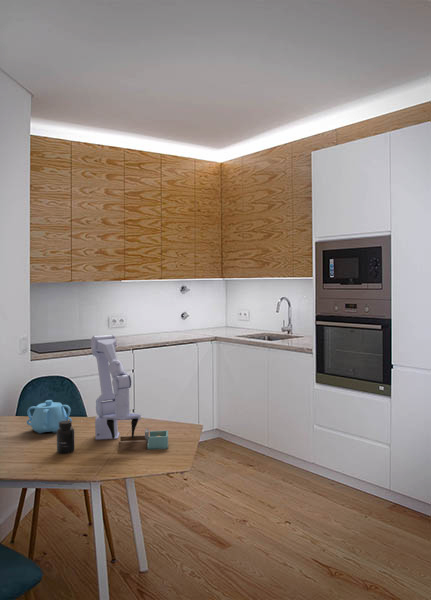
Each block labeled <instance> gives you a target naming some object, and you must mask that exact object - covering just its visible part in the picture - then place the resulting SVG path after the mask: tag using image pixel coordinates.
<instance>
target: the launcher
mask: <svg viewBox="0 0 431 600" xmlns="http://www.w3.org/2000/svg"><path fill="white" fill-rule="evenodd" d="M119 437H120V438H119V439H120V440H119V441H118V443H117V444H118V452H123V451H125V452H126V451H127V452H128V451H144V450H145V451H146V450H148V443H146V440H145V434H138V435H137V434H136V435H135V434H134V437H133V438H132V435H119Z"/></svg>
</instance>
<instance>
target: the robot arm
mask: <svg viewBox="0 0 431 600" xmlns="http://www.w3.org/2000/svg"><path fill="white" fill-rule="evenodd" d="M90 339H91V340H90V348H91V353H92V354H91V355H92V356H93V357H95V358H96V363H97V371H98V378H99V385H100V393H101V394H100V395H99V396H98V397H97V399H96V400H95V411H96V412H95V413H96V415H97V416H96V417H95V423H94V424H95V425H94V426H95V427H94V430H95V440H97V441H98V440H117V439H119V437H120V432H119V430H118V429H119V428H118V425H119V424H118V421H131V436H132V438H133V437H134V435H135V431H136V428H137V424H138V423H139V421H141V419H142V414H141V413H131V412H130V411H131V410H130V389H131V387H132V377H131V375H130V374H129V373H128V372H126V371H125V366H123V363H122V361H120V360H119V359H118V356H117V353H116V346H117V339H116V335H115V334H107V335H105V334H104V335H92V337H91V338H90Z"/></svg>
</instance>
